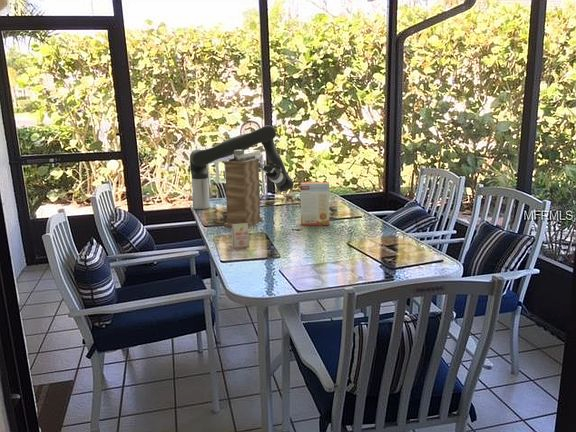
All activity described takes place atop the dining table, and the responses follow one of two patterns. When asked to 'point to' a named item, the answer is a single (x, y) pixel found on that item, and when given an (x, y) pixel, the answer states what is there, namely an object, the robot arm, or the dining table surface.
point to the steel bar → (245, 154)
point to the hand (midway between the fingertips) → (263, 162)
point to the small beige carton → (240, 235)
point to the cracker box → (314, 203)
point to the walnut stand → (242, 191)
